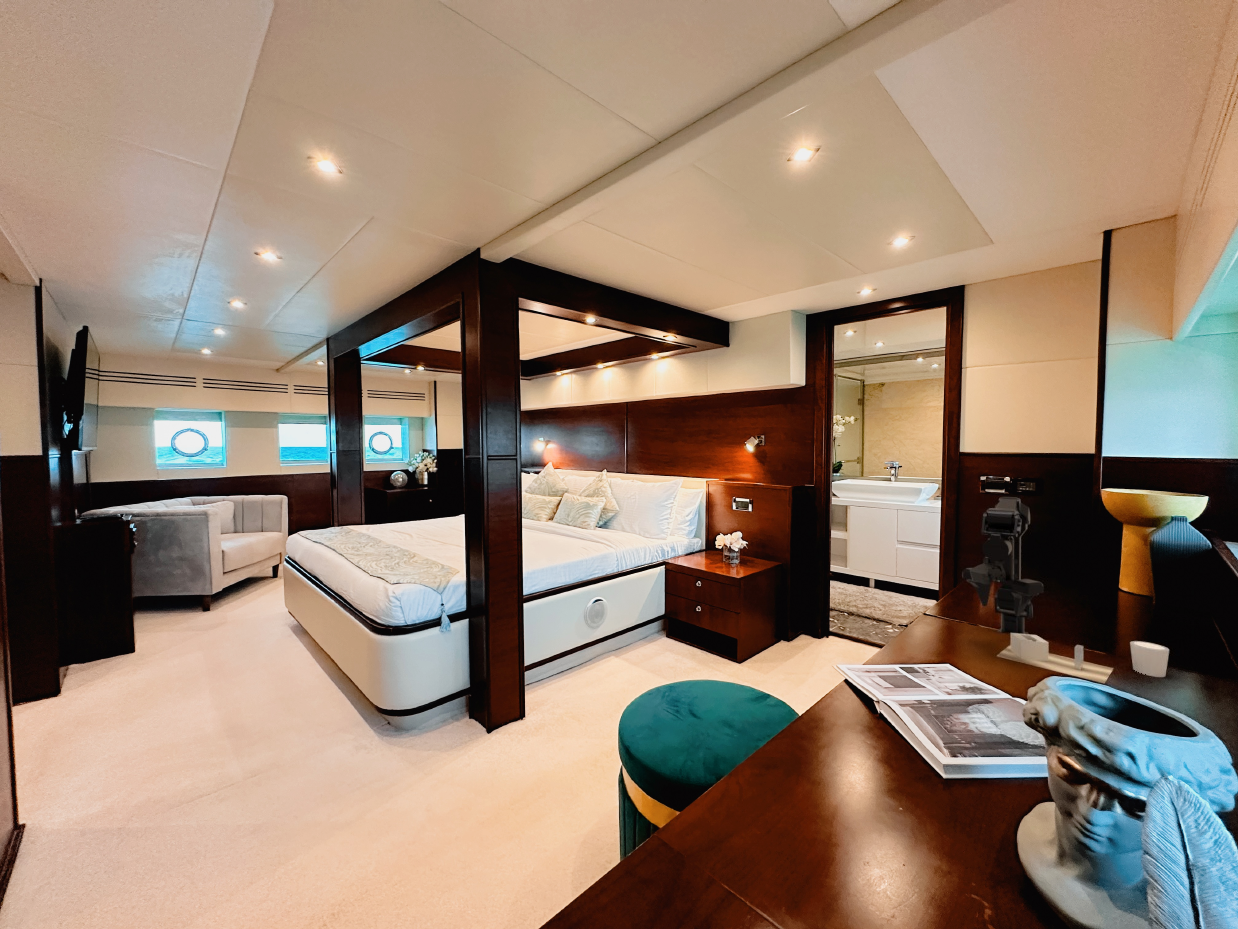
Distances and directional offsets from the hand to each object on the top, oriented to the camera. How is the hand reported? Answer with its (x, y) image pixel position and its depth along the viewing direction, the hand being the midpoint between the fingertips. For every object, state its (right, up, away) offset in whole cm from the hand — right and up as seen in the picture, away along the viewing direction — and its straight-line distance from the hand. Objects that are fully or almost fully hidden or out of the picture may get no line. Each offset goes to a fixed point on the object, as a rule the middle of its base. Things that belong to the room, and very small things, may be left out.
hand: (1000, 611), depth 136 cm
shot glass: (+31, -13, -9) cm, 35 cm away
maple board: (+8, -13, -7) cm, 17 cm away
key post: (+12, -11, -11) cm, 19 cm away
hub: (+5, -11, -3) cm, 13 cm away
